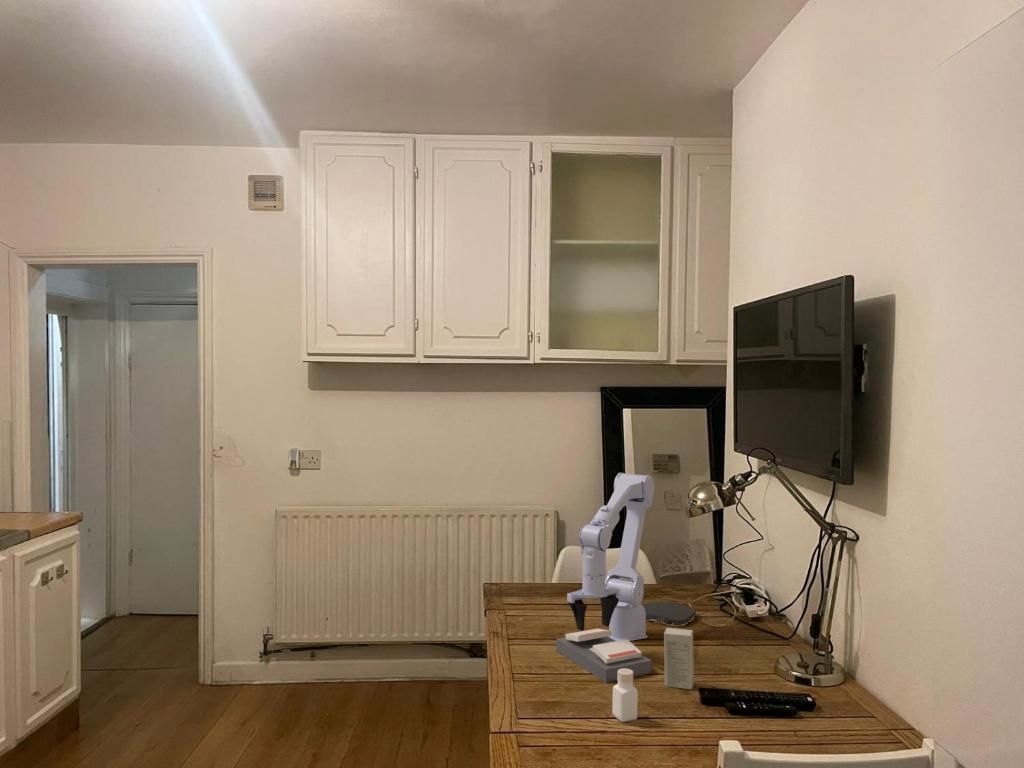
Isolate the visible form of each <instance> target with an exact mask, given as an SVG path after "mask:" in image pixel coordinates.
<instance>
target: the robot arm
mask: <svg viewBox="0 0 1024 768" xmlns="http://www.w3.org/2000/svg"><path fill="white" fill-rule="evenodd" d="M613 480H614V482H613V492H612V494H611V496H610V498H609V500H608V503H607V504H606V505H603V506H600V508H599V509H598V511H597V512H596V513H595V515H594V516H593V518H592V520H591V521H590V523H589V524H585V525H584V526H582V527H581V529H580V531H579V536H578V543H579V546H580V554H581V555H582V585H581V588H582V589H579V590H576V591H572V592H568V593H566V595H567V597H566V600H567V601H566V602H568V604H569V607H570V608H571V611H572V613H573V616H574V619H575V625H576V629H577V630H579V632H581V631H585V623H586V622H585V620H586V618H585V617H586V611H587V608H588V605H587V604H585V603H584V601H587V600H588V601H589V600H594V599H595V600H596V599H600V605H601V624H602V625H603V626H605V627H608V628H609V629H608V630H610V631H611V634H612V636H608V637H610V638H612V639H613V640H615V641H619V640H625V639H627V640H628V641H630V642H633V641H638V640H642V639H647V638H648V635H647V634H646V630H647V629H646V628H647V627H646V623H647V621H646V612H645V609H644V606H643V605H644V604H642V601H643V599H644V594H645V593H644V591H645V590H644V586H645V585H644V584H645V583H644V581H645V579H644V577H643V576H642V574H640V573H641V572H639V571H638V570H637V565H638V564H637V563H638V557H639V551H640V547H641V540H642V534H643V530H644V524H645V519H646V514H647V513H646V511H647V509H649V508H651V507H652V503H653V501H654V495H655V494H654V493H655V481H654V479H653V477H652V476H651V475H650V474H647V475H644V474H642V475H641V474H631V473H624V472H618V473H617V475H616V476H615V478H614V479H613ZM624 507H626V509H627V512H626V519H625V523H624V529H623V533H622V540H621V545H620V550H619V554H618V555H619V556H618V561H617V565H616V566H614V567H612V568H611V569H609V570H608V572H607V574H606V571H607V568H606V566H607V565H606V564H607V562H606V559H607V549H608V548H609V547H610V544H611V539H612V536H613V531H614V530H615V527H616V525H617V524H618V523H619V521H620V511H622V509H623V508H624Z"/></svg>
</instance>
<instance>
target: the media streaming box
mask: <svg viewBox="0 0 1024 768" xmlns="http://www.w3.org/2000/svg"><path fill="white" fill-rule="evenodd" d="M642 605H643V606H644V609H645V612H646V620H651V621H655V622H660V621H664V622H663V623H666V624H672V623H674V625H681V624H685V623H687V622H688V621H690V620H691V619H692V618H693V616H694V615H695V614H696V615H697V609H695V608H694V607H691V606H688V605H685V604H682V603H677V602H673V601H671V602H670V601H649V602H646V603H645V604H642Z"/></svg>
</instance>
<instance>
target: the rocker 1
mask: <svg viewBox="0 0 1024 768" xmlns="http://www.w3.org/2000/svg"><path fill="white" fill-rule="evenodd" d="M607 636H612V634H611V631H610V630H609V629H602V628H593V629H589V630H584V631H577V632H571V633H565V637H566V639H568V640H573V641H578V642H579V641H585V640H590V639H596V638H602V637H607Z"/></svg>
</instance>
